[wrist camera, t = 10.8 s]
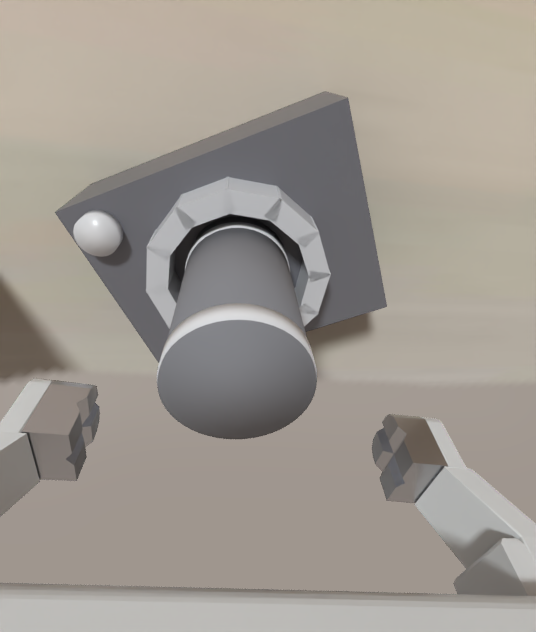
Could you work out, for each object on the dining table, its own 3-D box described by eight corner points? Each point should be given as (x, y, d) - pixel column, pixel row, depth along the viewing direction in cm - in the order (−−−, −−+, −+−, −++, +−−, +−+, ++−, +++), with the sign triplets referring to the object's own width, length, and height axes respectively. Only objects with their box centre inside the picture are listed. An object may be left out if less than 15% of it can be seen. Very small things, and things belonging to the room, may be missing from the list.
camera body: (325, 91, 19) (360, 101, 14) (363, 267, 25) (399, 326, 20) (91, 184, 21) (34, 227, 15) (178, 328, 27) (161, 398, 21)
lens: (192, 207, 17) (158, 311, 10) (297, 225, 18) (338, 334, 11) (184, 298, 20) (153, 434, 13) (275, 310, 21) (296, 444, 13)
